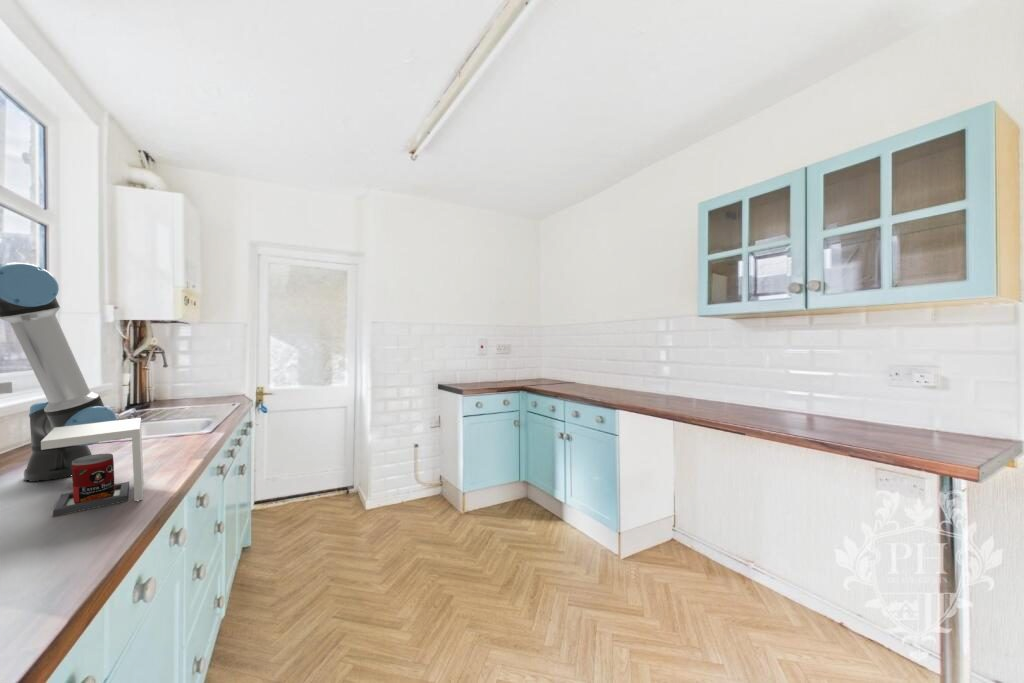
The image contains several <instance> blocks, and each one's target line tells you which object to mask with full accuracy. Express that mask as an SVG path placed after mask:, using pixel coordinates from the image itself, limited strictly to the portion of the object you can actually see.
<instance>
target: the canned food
mask: <svg viewBox="0 0 1024 683" xmlns="http://www.w3.org/2000/svg"><path fill="white" fill-rule="evenodd" d="M114 462H115V461H114V455H113V454H112V453H97V454H92V455H89V456H85V457H81V458H78V459H75V460H73V461H72V476H71V478H72V492H73V499H74V503H75V504H78V503H83V502H88V501H93V500H98V499H103V498H108V497H112V496H113V495H114V492H115V485H114V484H115V463H114Z"/></svg>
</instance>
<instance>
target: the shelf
mask: <svg viewBox="0 0 1024 683" xmlns="http://www.w3.org/2000/svg"><path fill="white" fill-rule="evenodd" d="M124 439H131V445H132V446H131V447H132V450H131V451H132V471H133V472H132V473H133V493H134V494H133V496H134V502H135V501H137V500H142V499H143V497H144V496H143V495H144V467H143V466H144V465H143V464H144V461H143V438H142V418H141V417H136V418H135V417H134V418H128V419H119V420H118V419H117V421H108V422H99V423H91V424H82V425H73V426H64V427H56V428H54V429H53V430H52V431H51V432H50V433H49V434H48V435H47V436H46V437H45V438H44V439H43V440H42V441H41V450H44V449H52V448H59V447H66V446H73V445H81V444H88V443H95V442H99V443H102V442H110V441H116V440H124ZM142 501H143V500H142Z"/></svg>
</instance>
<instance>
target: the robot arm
mask: <svg viewBox="0 0 1024 683" xmlns="http://www.w3.org/2000/svg"><path fill="white" fill-rule="evenodd" d="M59 290H60V289H59V284H58V281H57V280H56V277H54V276H53V274H52V273H50V272H49V271H48V270H46V269H44V268H42V267H41V266H38V265H35V264H31V263H26V262H7V263H1V264H0V319H1V320H3V321H6V322H8V323H9V324H10V326H11V328H12V330H13V332H14V334H15V336H16V338H17V340H18V342H19V344H20V347H21V348H22V350H23V353H24V355H25V357H26V359H27V361H28V363H29V364H30V367H31V369H32V371H33V373H34V375H35V376H36V379H37V382H38V383H39V385H40V387H41V389H42V391H43V394H44V395H45V397H46V400H47V401H43V402H37V403H33V404H31V406H30V407H29V412H28V417H29V426H30V443H31V453H30V456H29V459H28V463H27V466H26V468H25V470H23V479H25V480H31V481H30V482H40V481H39V480H45V481H50V480H49V479H53V480H56V479H57V478H59V479H63V478H62V477H64V478H68V477H67V476H69V477H72V476H71V475H72V461H73V460H75V459H78V458H81V457H85V456H89V455H93V453H92V452H91V450H90V448H89V446H92V445H96V444H99V443H100V442H95V443H88V444H81V445H73V446H66V447H59V448H52V449H44V450H41V441H42V440H43V439H44V438H45V437H46V436H47V435H48V434H49V433H50V432H51V431H52V430H53V429H54V428H56V427H64V426H73V425H82V424H91V423H99V422H108V421H117V420H118V417H117V415H116V413H115V412H114V411H113V410H112V409H111V408H109V407H107V406H105V404H104V403H103V401H102V398H101V395H100V394H99V393H97V392H94V391H91V390H90V388H89V386H88V383H87V382H86V380H85V377H84V376H83V372H82V371H81V369H80V366H79V364H78V362H77V360H76V358H75V355H74V354H73V351H72V349H71V346H70V344H69V342H68V340H67V337H66V336H65V333H64V331H63V329H62V327H61V324H60V322H59V319H58V318H57V315H56V314H57V312H59V311H60V309H61V306H60V304H59V302H58V300H57V296H58V294H59ZM13 392H14V391H13V382H12V381H8V382H7V381H6V382H5V381H4V382H0V394H1V395H3V394H12V393H13ZM25 480H24V481H25ZM57 480H58V479H57Z"/></svg>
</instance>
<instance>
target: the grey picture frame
mask: <svg viewBox="0 0 1024 683" xmlns="http://www.w3.org/2000/svg"><path fill="white" fill-rule="evenodd" d="M114 485H115V492H114V495H113V496H112V497H108V498H103V499H98V500H93V501H88V502H83V503H78V504H75V503H74V499H73V491H71V492H64V493H62V494H60V496H59V498H58V501H56V504H55V506H54V507H53V509H52V516H53V517H57V516H63V515H67V514H72V513H76V512H75V511H77V512H80V511H79V510H82V511H84V510H83V509H86V510H89V509H88V508H91V509H94V508H93V507H96V508H99V507H98V506H101V507H103V505H105V506H108V505H107V504H110V505H113V504H112V503H115V504H118V503H117V502H120V503H123V502H122V501H124V502H127V501H128V499H129V492H128V491H130V481H125V482H119V483H114ZM127 498H128V499H127ZM126 500H127V501H126Z"/></svg>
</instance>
